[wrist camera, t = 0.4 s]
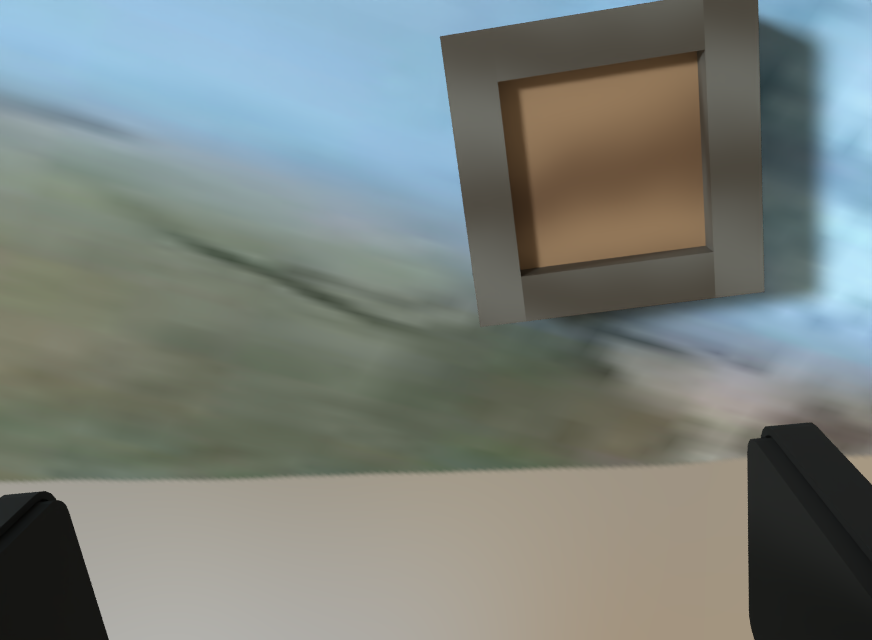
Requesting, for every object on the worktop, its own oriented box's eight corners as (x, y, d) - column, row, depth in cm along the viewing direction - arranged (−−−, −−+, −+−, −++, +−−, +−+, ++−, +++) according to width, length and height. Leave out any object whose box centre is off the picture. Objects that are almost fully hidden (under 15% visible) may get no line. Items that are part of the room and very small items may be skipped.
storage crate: (446, 42, 36) (440, 36, 30) (710, -1, 34) (757, -16, 29) (480, 288, 39) (480, 326, 33) (720, 257, 38) (764, 291, 32)
